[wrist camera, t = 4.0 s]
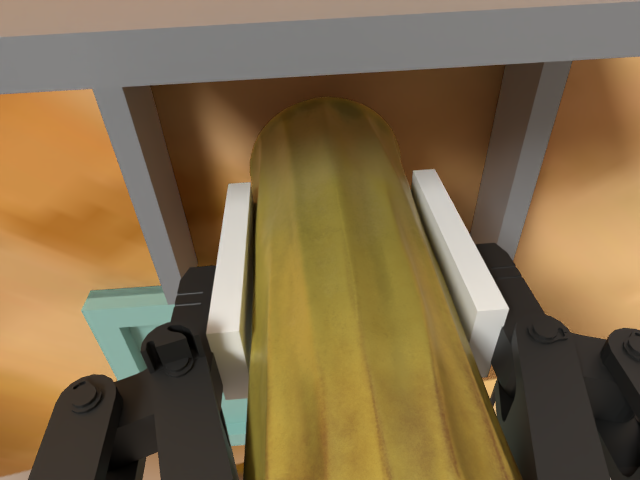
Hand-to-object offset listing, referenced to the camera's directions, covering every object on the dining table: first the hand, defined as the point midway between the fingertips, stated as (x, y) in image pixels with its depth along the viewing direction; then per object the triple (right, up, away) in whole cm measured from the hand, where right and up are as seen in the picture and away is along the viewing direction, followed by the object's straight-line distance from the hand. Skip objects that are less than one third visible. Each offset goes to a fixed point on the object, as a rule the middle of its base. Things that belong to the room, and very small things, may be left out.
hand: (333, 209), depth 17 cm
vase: (0, +2, +3) cm, 3 cm away
